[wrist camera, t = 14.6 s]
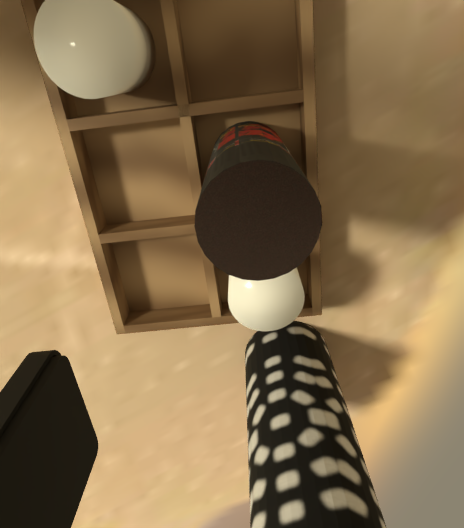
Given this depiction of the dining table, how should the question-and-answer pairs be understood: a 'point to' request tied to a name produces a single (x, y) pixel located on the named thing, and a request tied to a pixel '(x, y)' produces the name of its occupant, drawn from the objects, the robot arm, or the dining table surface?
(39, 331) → the dining table surface
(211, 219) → the deodorant
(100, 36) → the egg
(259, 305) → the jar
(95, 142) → the crate
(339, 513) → the spotted tube
